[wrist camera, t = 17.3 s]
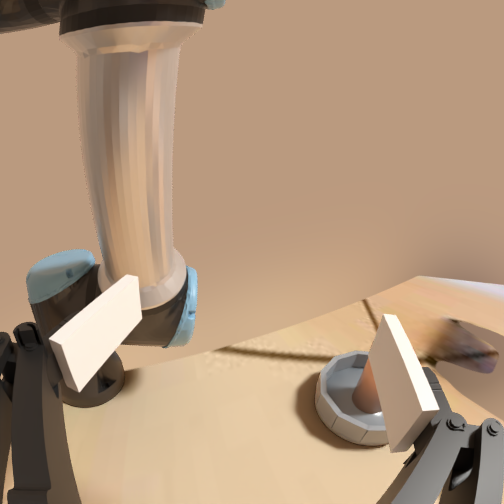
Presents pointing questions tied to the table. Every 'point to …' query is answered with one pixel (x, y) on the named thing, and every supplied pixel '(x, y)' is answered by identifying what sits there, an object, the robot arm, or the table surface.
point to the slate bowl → (347, 402)
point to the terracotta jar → (367, 392)
